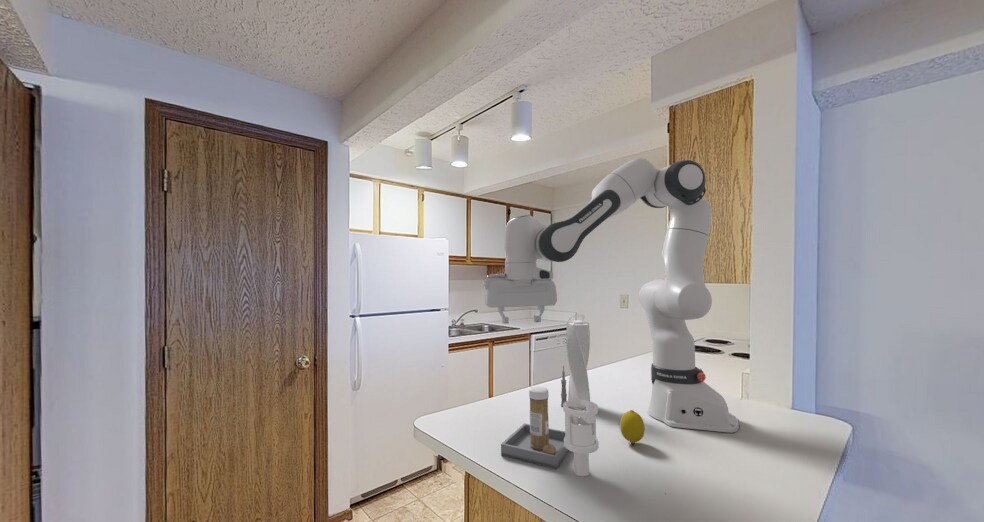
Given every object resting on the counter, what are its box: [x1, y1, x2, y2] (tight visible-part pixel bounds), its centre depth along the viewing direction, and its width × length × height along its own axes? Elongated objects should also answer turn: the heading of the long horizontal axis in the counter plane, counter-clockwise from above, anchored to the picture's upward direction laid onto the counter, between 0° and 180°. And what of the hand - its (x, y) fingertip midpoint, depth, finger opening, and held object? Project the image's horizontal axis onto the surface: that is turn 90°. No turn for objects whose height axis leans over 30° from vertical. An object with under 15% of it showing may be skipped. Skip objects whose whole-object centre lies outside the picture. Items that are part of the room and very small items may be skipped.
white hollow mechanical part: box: [562, 400, 600, 477], centre depth 79 cm, size 7×7×15 cm
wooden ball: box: [543, 444, 556, 455], centre depth 84 cm, size 3×3×3 cm
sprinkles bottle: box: [528, 386, 550, 450], centre depth 90 cm, size 5×5×13 cm
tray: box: [500, 423, 571, 470], centre depth 90 cm, size 13×13×2 cm
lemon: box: [619, 409, 645, 445], centre depth 92 cm, size 6×6×8 cm
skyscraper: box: [560, 314, 591, 411], centre depth 119 cm, size 8×8×28 cm
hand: (521, 322), depth 107 cm, fingers open, 8 cm apart
